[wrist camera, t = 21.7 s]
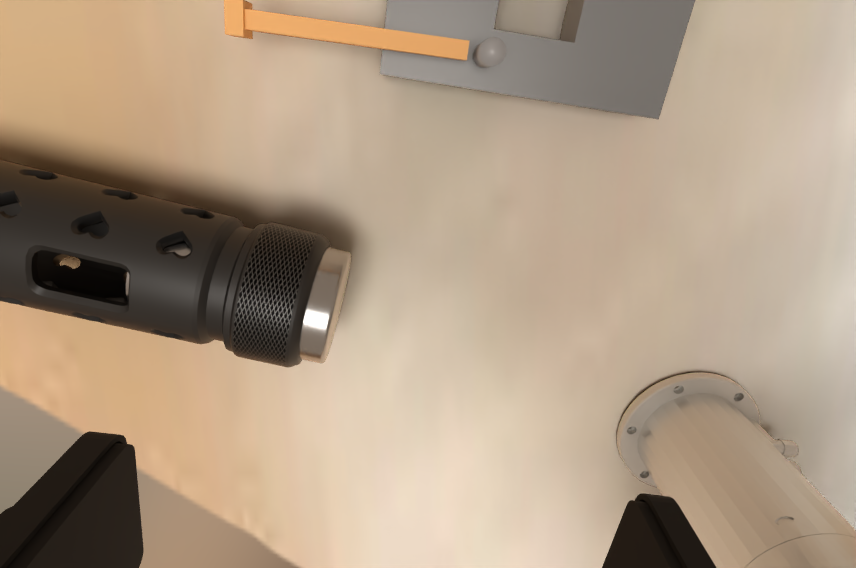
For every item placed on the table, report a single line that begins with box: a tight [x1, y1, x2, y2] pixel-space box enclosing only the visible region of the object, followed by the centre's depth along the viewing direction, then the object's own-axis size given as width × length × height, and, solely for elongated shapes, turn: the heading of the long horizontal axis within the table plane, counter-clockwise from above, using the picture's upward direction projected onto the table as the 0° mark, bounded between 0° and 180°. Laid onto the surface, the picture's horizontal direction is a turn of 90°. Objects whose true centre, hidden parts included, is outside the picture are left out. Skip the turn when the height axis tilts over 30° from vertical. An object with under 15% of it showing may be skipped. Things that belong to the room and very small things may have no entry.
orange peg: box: [224, 0, 469, 61], centre depth 28 cm, size 2×14×2 cm, turn 83°
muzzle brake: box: [0, 160, 351, 367], centre depth 34 cm, size 10×28×10 cm, turn 75°
